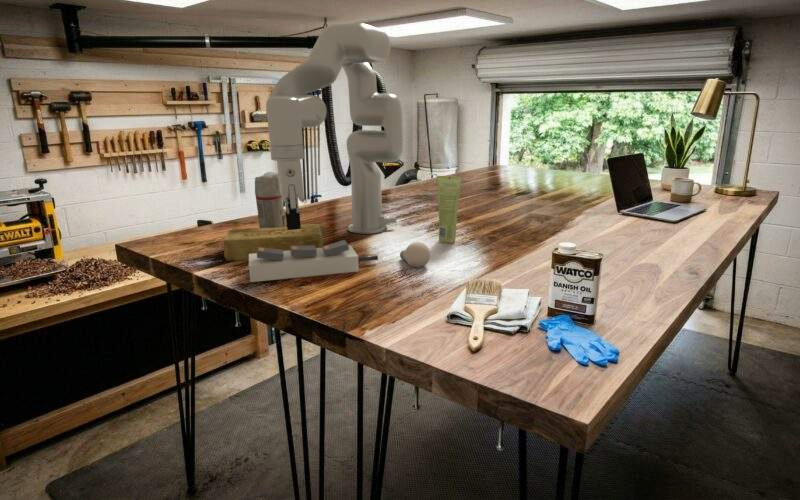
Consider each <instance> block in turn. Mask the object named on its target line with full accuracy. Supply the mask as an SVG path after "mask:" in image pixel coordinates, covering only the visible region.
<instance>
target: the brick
mask: <svg viewBox="0 0 800 500" xmlns="http://www.w3.org/2000/svg"><path fill="white" fill-rule="evenodd" d="M322 232H323V231H322V229H321V226H320V224H319V223H312V224H311V223H310V224H301V228H300V229H295V230H288V229H287V226H286V227H280V228H260V227H259V228H235V229H230V230H228V232H227V234H226V236H225V237H224V239H223V253H224V258H225V260H226V261H227V262H239V261H241V262H242V261H249V254H254V253H257V247H262V248H271V249H280V250H283V251H289V250H290V246H308V245H315V247H316V248H322V246H324V239H323V238H324V236H323V233H322Z"/></svg>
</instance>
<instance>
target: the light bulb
mask: <svg viewBox="0 0 800 500" xmlns="http://www.w3.org/2000/svg"><path fill="white" fill-rule="evenodd" d="M399 257H400V259H401V260H402V261H406V262H407V264H408V265H409V266H411V267H414V268H417V269H418V268H422V267H425V266H426V265H427V264H429V262H430V259H431V251H430V249H429V246H428V245H427V244H425V243H424V242H420V241H415V242H412V243H410V244H409V245H408V246H407V247H406V249H403V250H401V252H400V253H399Z"/></svg>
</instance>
